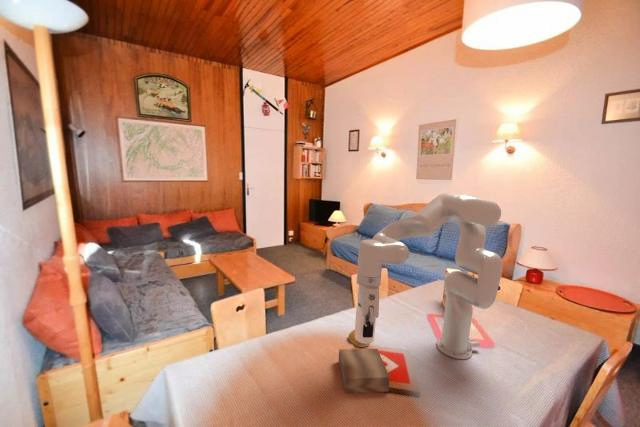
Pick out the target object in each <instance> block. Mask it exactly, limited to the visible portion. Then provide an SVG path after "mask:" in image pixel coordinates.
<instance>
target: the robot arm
mask: <svg viewBox="0 0 640 427" xmlns="http://www.w3.org/2000/svg"><path fill="white" fill-rule="evenodd" d="M501 216H502V209H501V207H500V205H499V204H498V203H496V202H494V201H490V200H487V199H482V198H477V197H473V196H469V195H464V194H456V193H448V192H447V193H440V194H439V195H437V196H436V197H435V198H433V199H432V200H431V201H429V202H428V203H427V204H426V205H424V206H423V207H422V208H420V209H419V210H418V211H417V212H416V213H414V214H412V215H410V216H407V217H403V218H402V219H399V220H396V221H394V222H392V223H389V224H388V225H386V226H384V227H383V228H382V229H380V231H378V232H377V233H376V234H374V236H373V237H372V238H371V239H364V240H361V241H360V242H359V245H358V254H357V255H358V256H357V272H356V284H357V285H358V287H357V288H358V291H357V304H358V303H359V305H360V307H361V311H362V315H363V317H364V325H363V337H364V338H370V337H373V329H374V323H375V318H374V316H375V317H376V319H377V318H379V314H380V286H381V283H382V282H381V281H382V280H381V279H382V271H383V270H382V269H383V265H393V266H397V265H401V264H403V263H405V262H406V261H407V260H408V258H409V256H410V249H409V248H408V246H407V245H406V244H405V243H403V242H401V240H403V239H408V238H417V237H418V238H420V237H422V238H423V237H427V236H431V235H432V234H434V232H436V231H437V230H438V229H440V227H442V226H443V225H445V223H447V222H448V221H449V220H453V221H457V223H458V226H459V230H460V232H459V238H458V243H457V248H456V252H455V256H454V262H455V265H456V266H457V267H458V268H460V269H462V270H464V271H466V272H469V273H472V274H474V275H476V276H477V277H475V276H473V275H471V274H469V273H466V272H464V271H461V270H460V271H453V272H451V273H449V274H448V276H447V277H446V280H445V279H444V282H445V290H446V305H445V307H444V313H443V314H444V315H443V322H442V332H441V337H440V338H438V339H437V340H436V348H437V349H438V350H439V351H440V352H441V353H443V354H444V355H445V356H448V357H450V358H454V359H458V360H466V359H469V358H471V356H472V353H473V350H472V348H473V347H475V348H478V347H481V344H480V341H476V340H475V341H474V340H473V338H472V337H471V338H470V334H471V327H472V318H473V313H474V310H473V306H474V307H476V308H478V309H482V310H486V309H489V308H491V306H492V305H494V303H495V301H496V297H497V294H498V291H499V287H500V282H501V278H502V274H503V270H504V269H503V268H504V266H503V265H504V264H503V260H502V258H501V256H500V255H499V254H498V253H496V252H494V251H490V250H488V249H485V243H486V239H487V232H486V228H485V227H491V226H494V225H496V224H497V223H498V222H499V221H500V219H501ZM367 314H369V316H366V315H367ZM367 318H370V319H369V321H367Z"/></svg>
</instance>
